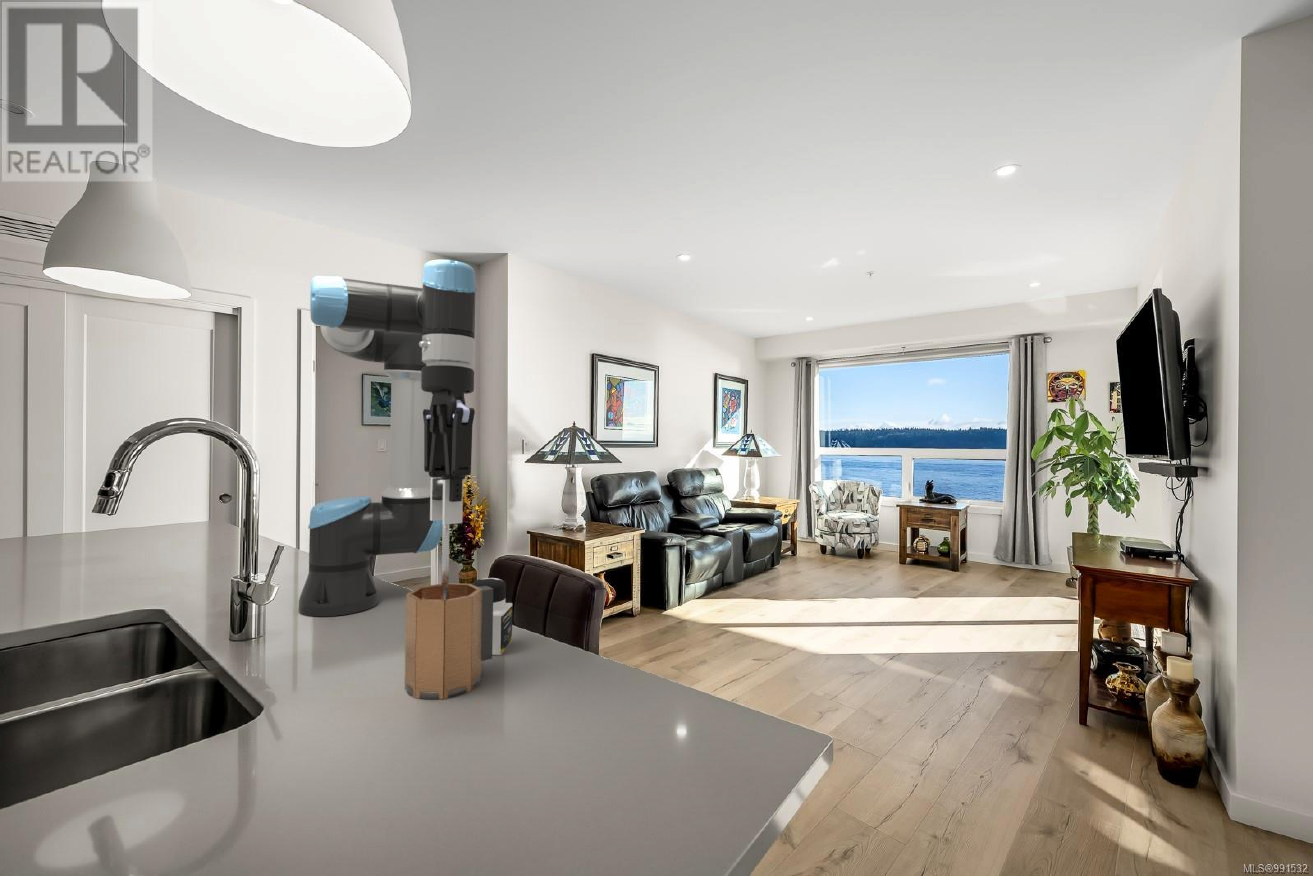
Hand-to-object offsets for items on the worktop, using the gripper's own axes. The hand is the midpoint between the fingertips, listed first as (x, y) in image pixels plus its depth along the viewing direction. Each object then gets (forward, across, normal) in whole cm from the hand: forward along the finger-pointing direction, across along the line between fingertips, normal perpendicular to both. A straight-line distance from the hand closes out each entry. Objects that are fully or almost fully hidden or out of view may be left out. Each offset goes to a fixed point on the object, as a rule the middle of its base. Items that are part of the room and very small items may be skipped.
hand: (445, 521), depth 89 cm
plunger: (+15, 0, 0) cm, 15 cm away
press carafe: (+25, 0, +1) cm, 25 cm away
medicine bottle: (+25, -10, +12) cm, 29 cm away
